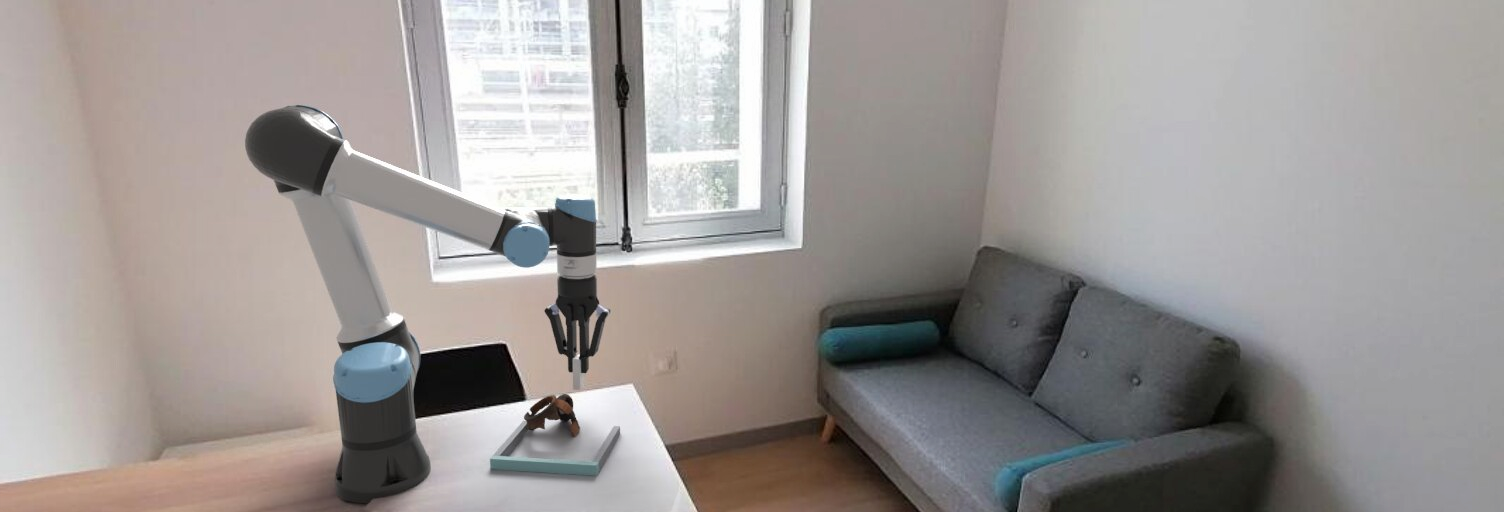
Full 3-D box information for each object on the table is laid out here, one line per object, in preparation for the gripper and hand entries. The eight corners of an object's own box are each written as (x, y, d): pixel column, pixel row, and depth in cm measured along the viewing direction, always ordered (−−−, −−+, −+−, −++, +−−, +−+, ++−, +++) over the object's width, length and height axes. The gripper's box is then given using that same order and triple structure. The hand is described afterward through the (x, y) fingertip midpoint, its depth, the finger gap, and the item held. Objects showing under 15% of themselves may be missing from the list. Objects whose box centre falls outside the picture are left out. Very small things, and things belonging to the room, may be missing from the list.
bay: (490, 469, 139) (489, 458, 139) (523, 430, 154) (523, 420, 154) (597, 475, 137) (596, 465, 137) (620, 435, 152) (619, 426, 152)
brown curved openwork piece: (574, 444, 148) (550, 411, 145) (535, 460, 151) (511, 428, 148) (594, 408, 159) (572, 376, 156) (557, 423, 162) (535, 392, 159)
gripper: (537, 277, 150) (540, 392, 155) (604, 281, 149) (604, 396, 154) (551, 267, 157) (553, 378, 163) (614, 271, 156) (615, 382, 161)
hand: (578, 387), depth 158 cm, fingers closed
